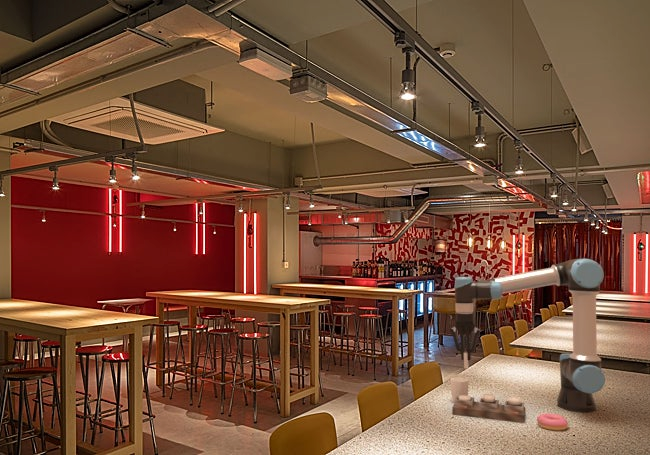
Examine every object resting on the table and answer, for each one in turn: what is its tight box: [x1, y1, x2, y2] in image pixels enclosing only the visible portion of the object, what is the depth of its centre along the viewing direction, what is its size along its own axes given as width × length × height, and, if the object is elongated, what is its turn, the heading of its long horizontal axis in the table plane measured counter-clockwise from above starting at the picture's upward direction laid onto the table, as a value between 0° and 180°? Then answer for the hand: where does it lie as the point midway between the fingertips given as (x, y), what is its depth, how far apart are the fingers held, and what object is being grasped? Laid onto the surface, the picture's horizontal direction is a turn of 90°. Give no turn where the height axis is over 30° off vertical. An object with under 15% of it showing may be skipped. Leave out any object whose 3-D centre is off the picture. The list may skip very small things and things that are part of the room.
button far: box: [459, 395, 472, 401], centre depth 208 cm, size 5×5×2 cm
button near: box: [507, 396, 522, 405], centre depth 200 cm, size 5×5×2 cm
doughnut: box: [536, 413, 569, 431], centre depth 188 cm, size 11×11×4 cm
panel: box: [451, 396, 527, 424], centre depth 203 cm, size 28×12×5 cm, turn 66°
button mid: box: [482, 393, 496, 402], centre depth 205 cm, size 5×5×2 cm
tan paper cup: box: [450, 376, 469, 403], centre depth 222 cm, size 8×8×10 cm
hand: (466, 367), depth 209 cm, fingers closed
